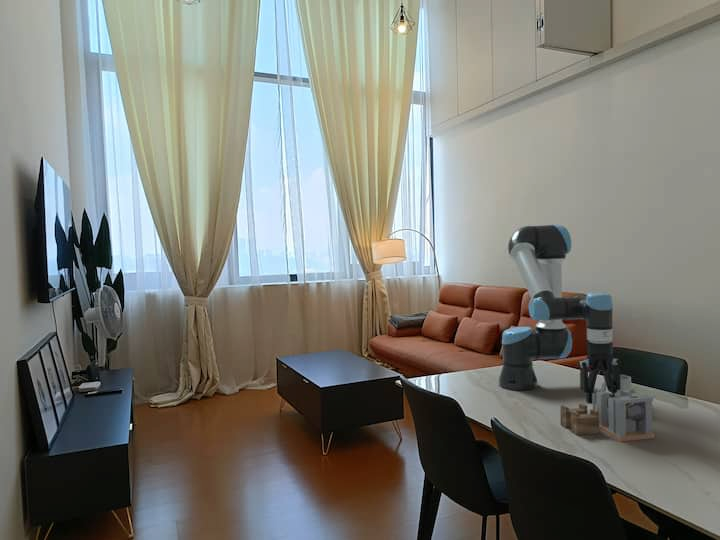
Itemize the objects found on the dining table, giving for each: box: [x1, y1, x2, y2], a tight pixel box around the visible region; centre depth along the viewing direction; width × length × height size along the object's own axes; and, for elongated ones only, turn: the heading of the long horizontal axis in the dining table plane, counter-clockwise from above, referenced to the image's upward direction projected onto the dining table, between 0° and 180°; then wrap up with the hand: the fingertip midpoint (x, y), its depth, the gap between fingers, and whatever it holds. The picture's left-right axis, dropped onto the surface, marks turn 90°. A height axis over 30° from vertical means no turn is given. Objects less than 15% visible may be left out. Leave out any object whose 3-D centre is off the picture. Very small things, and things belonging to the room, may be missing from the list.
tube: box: [593, 387, 645, 422], centre depth 155 cm, size 22×5×5 cm, turn 7°
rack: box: [559, 402, 600, 436], centre depth 155 cm, size 9×7×6 cm
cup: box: [601, 374, 632, 397], centre depth 179 cm, size 7×10×9 cm
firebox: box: [596, 390, 656, 442], centre depth 154 cm, size 19×11×12 cm, turn 7°
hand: (600, 412), depth 162 cm, fingers open, 5 cm apart
